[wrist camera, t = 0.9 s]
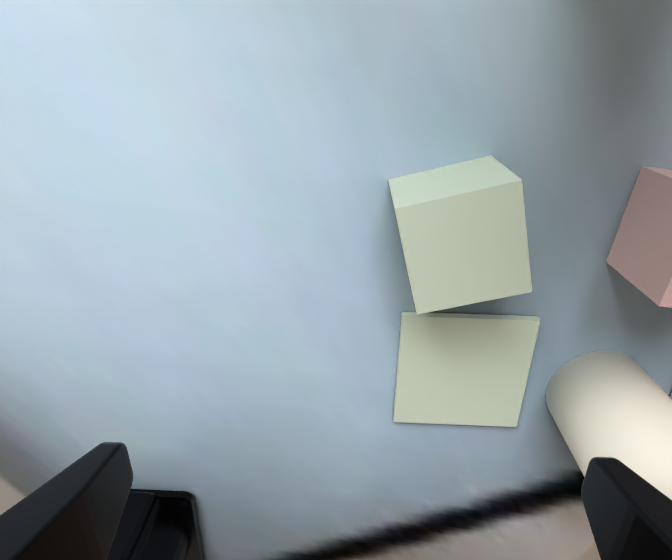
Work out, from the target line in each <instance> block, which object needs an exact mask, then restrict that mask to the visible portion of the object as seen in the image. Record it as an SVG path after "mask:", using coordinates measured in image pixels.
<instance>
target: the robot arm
mask: <svg viewBox="0 0 672 560" xmlns="http://www.w3.org/2000/svg"><path fill="white" fill-rule="evenodd" d="M132 481H133V471H132V467H131V463H130V459H129V455H128V451H127V448H126V446H125V444H124V443H121V442H103V443H101V444H99V445H98V446H96V447H95V448H94V449H92V450H91V451H89V452H88V453H87V454H85V455H84V456H82V457H81V458H80V459H78V460H77V461H75V462H74V463H73V464H71V465H70V466H68V467H67V468H66V469H64V470H63V471H62V472H60V473H59V474H57V475H56V476H55V477H53V478H52V479H50V480H49V481H48V482H46V483H45V484H43V485H42V486H41V487H39V488H38V489H36V490H35V491H34V492H32V493H31V494H29V495H28V496H27V497H25V498H24V499H22V500H21V501H20V502H18V503H17V504H16V505H14V506H13V507H12V508H10V509H9V510H7V511H6V512H4V513H3V514H2V515H0V560H204V557H203V551H202V545H201V539H200V533H199V526H198V520H197V514H196V508H195V502H194V497H193V495H191V494H190V493H188V492H184V491H162V490H140V489H131V486H132ZM581 495H582V500H583V504H584V507H585V510H586V513H587V517H588V520H589V523H590V526H591V529H592V533H593V536H594V539H595V542H596V545H597V548H598V552H599V555H600V558H601V560H672V500H671V499H670V498H668V497H667V496H666V495H664V494H663V493H662V492H660V491H659V490H658V489H656V488H655V487H654V486H652V485H651V484H650V483H649V482H647V481H646V480H645V479H643V478H642V477H641V476H639V475H638V474H637V473H635V472H634V471H633V470H631V469H630V468H629V467H627V466H626V465H625V464H623V463H622V462H621V461H619V460H618V459H616V458H612V457H593V458H592V459H591V460H590V462H589V464H588V468H587V471H586V474H585V478H584V481H583V484H582V489H581Z"/></svg>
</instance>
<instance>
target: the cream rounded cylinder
mask: <svg viewBox="0 0 672 560" xmlns="http://www.w3.org/2000/svg"><path fill="white" fill-rule="evenodd" d="M545 400H546V405H547V407H548V409H549V411H550V413H551V415H552V417H553V419H554V421H555V423H556V424H557V426H558V428H559V430H560V432H561V434H562V436H563V438H564V440H565V441H566V443H567V445H568V447H569V449H570V451H571V453H572V455H573V456H574V458H575V460H576V462H577V464H578V466H579V468H580V470H581V471H582V473H583V475H584V477H585V474H586V471H587V468H588V464H589V462H590V460H591V459H592V458H593V457H612V458H616V459H618V460H619V461H621V462H622V463H623V464H625V465H626V466H627V467H629V468H630V469H631V470H633V471H634V472H635V473H637V474H638V475H639V476H641V477H642V478H643V479H645V480H646V481H647V482H649V483H650V484H651V485H652V486H654V487H655V488H656V489H658V490H659V491H660V492H662V493H663V494H664V495H666V496H667V497H668V498H670V499H671V500H672V399H671V398H670V397H669V396H668V395H667V394H666V393H665V392H664V391H663V390H662V388H661V387H660V386H659V385H658V384H657V383H656V382H655V381H654V380H653V378H652V377H651V376H650V375H649V374H648V373H647V372H646V371H645V370H644V368H643V367H642V366H641V365H640V364H639V363H638V362H637V361H636V360H635V359H633V358H632V357H630V356H628V355H626V354H623V353H620V352H616V351H594V352H589V353H586V354H583V355H580V356H578V357H575V358H573V359H572V360H570V361H568V362H567V363H565V364H564V365H562V366H561V367H560V368H559V369H558V370H557V371H556V372H555V373H554V375H553V376H552V378H551V379H550V381H549V383H548V385H547V388H546V394H545Z"/></svg>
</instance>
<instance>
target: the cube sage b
mask: <svg viewBox="0 0 672 560" xmlns="http://www.w3.org/2000/svg"><path fill="white" fill-rule="evenodd" d="M388 182H389V186H390V191H391V196H392V201H393V206H394V210H395V215H396V220H397V225H398V229H399V234H400V239H401V244H402V249H403V253H404V258H405V263H406V268H407V272H408V277H409V281H410V286H411V291H412V295H413V300H414V304H415V309H416V313H417V314H422V313H427V312H432V311H438V310H443V309H448V308H453V307H458V306H463V305H468V304H473V303H479V302H484V301H489V300H494V299H499V298H504V297H509V296H514V295H520V294H525V293H530V292H532V284H531V273H530V262H529V251H528V240H527V230H526V219H525V208H524V197H523V186H522V179H520V178H519V177H518V176H516V175H515V174H514V173H513V172H511V171H510V170H509V169H507V168H506V167H505V166H504V165H502V164H501V163H500V162H498V161H497V160H496V159H495V158H493V157H492V156H491V155H490V156H486V157H482V158H478V159H473V160H469V161H465V162H461V163H457V164H452V165H448V166H444V167H440V168H436V169H431V170H427V171H423V172H419V173H415V174H410V175H406V176H402V177H398V178H394V179H389V180H388Z"/></svg>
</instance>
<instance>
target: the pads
mask: <svg viewBox="0 0 672 560" xmlns="http://www.w3.org/2000/svg"><path fill="white" fill-rule="evenodd" d="M539 325H540V319H539V318H538V316H516V315H485V314H454V313H422V314H417V313H416V312H402V313H401V325H400V337H399V349H398V361H397V373H396V386H395V398H394V410H393V422H405V423H430V424H455V425H480V426H505V427H517V422H518V418H519V413H520V409H521V405H522V400H523V396H524V391H525V387H526V382H527V378H528V374H529V369H530V365H531V360H532V356H533V352H534V347H535V343H536V338H537V334H538V330H539ZM670 398H671V399H672V392H671V395H670Z"/></svg>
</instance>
